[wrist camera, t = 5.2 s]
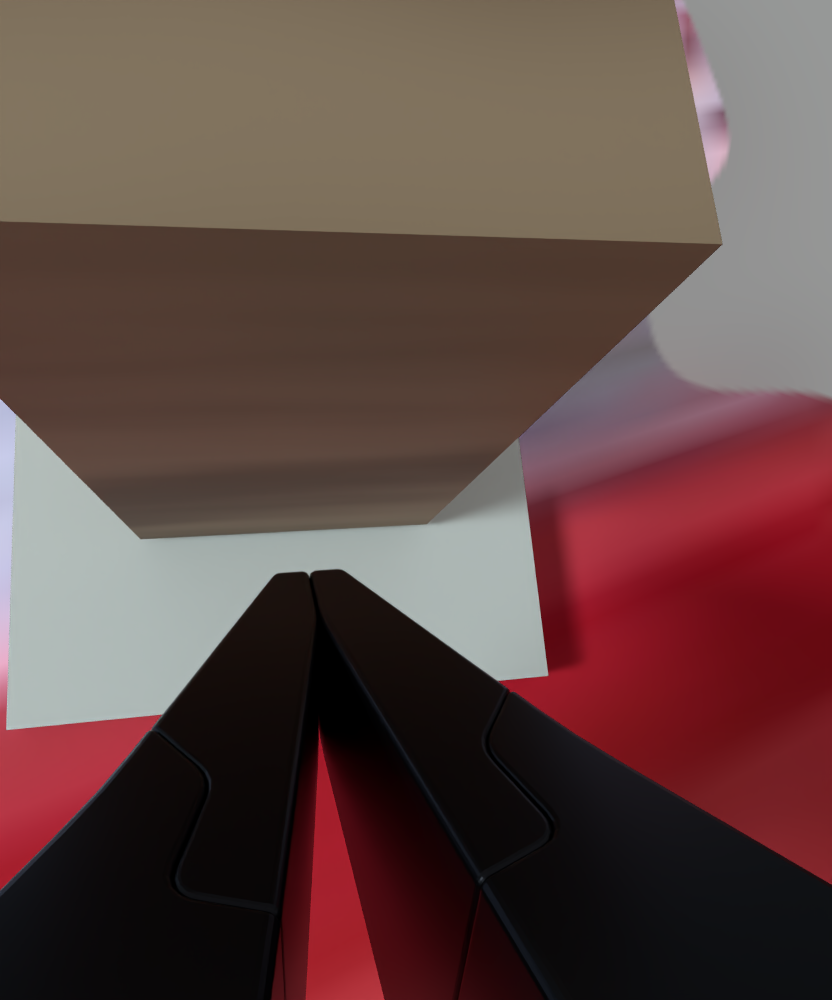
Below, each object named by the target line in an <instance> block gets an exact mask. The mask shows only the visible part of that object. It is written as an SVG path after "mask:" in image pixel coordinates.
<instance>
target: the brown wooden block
mask: <svg viewBox="0 0 832 1000" xmlns="http://www.w3.org/2000/svg"><path fill="white" fill-rule="evenodd" d="M721 245H722V239H721V234H720V229H719V224H718V218H717V213H716V208H715V204H714V199H713V193H712V188H711V183H710V178H709V173H708V168H707V163H706V158H705V153H704V148H703V143H702V138H701V133H700V128H699V123H698V118H697V113H696V108H695V103H694V98H693V93H692V88H691V83H690V78H689V73H688V68H687V63H686V58H685V53H684V48H683V43H682V38H681V33H680V27H679V22H678V17H677V12H676V7H675V2H674V0H0V399H1V400H2V401H3V402H4V403H5V404H6V405H7V406H8V407H9V408H10V409H11V410H12V411H13V412H14V413H15V414H16V415H17V416H18V417H19V418H20V419H21V420H22V421H23V422H24V423H25V424H26V425H27V426H28V427H29V428H30V429H31V430H32V431H33V432H34V433H35V434H36V435H37V436H38V437H39V438H40V439H41V440H42V441H43V442H44V443H45V444H46V445H47V446H48V447H49V448H50V449H51V450H52V451H53V452H54V453H55V454H56V455H57V456H58V457H59V458H60V459H61V460H62V461H63V462H64V463H65V464H66V465H67V466H68V467H69V468H70V469H71V470H72V471H73V472H74V473H75V474H76V475H77V476H78V477H79V478H80V479H81V480H82V481H83V482H84V483H85V484H86V485H87V486H88V487H89V488H90V489H91V490H92V491H93V492H94V493H95V494H96V495H97V496H98V497H99V498H100V499H101V500H102V501H103V502H104V503H105V504H106V505H107V506H108V507H109V508H110V509H111V510H112V511H113V512H114V513H115V514H116V515H117V516H118V517H119V518H120V519H121V520H122V521H123V522H124V523H125V524H126V525H127V526H128V527H129V528H130V529H131V530H132V531H133V532H134V533H135V534H136V535H137V536H138V537H139V538H140V539H157V538H176V537H195V536H214V535H233V534H252V533H271V532H290V531H309V530H328V529H347V528H366V527H385V526H404V525H423V524H428V523H429V522H430V521H431V520H432V519H433V518H434V517H435V516H436V515H437V514H438V513H439V512H440V511H441V510H442V509H444V508H445V507H446V506H447V505H448V504H449V503H450V502H451V501H452V500H453V499H454V498H455V497H456V496H457V495H458V494H459V493H460V492H461V491H463V490H464V489H465V488H466V487H467V486H468V485H469V484H470V483H471V482H472V481H473V480H474V479H475V478H476V477H477V476H478V475H479V474H480V473H482V472H483V471H484V470H485V469H486V468H487V467H488V466H489V465H490V464H491V463H492V462H493V461H494V460H495V459H496V458H497V457H498V456H499V455H501V454H502V453H503V452H504V451H505V450H506V449H507V448H508V447H509V446H510V445H511V444H512V443H513V442H514V441H515V440H516V439H517V438H518V437H520V436H521V435H522V434H523V433H524V432H525V431H526V430H527V429H528V428H529V427H530V426H531V425H532V424H533V423H534V422H535V421H536V420H537V419H539V418H540V417H541V416H542V415H543V414H544V413H545V412H546V411H547V410H548V409H549V408H550V407H551V406H552V405H553V404H554V403H555V402H556V401H558V400H559V399H560V398H561V397H562V396H563V395H564V394H565V393H566V392H567V391H568V390H569V389H570V388H571V387H572V386H573V385H574V384H575V383H577V382H578V381H579V380H580V379H581V378H582V377H583V376H584V375H585V374H586V373H587V372H588V371H589V370H590V369H591V368H592V367H593V366H594V365H596V364H597V363H598V362H599V361H600V360H601V359H602V358H603V357H604V356H605V355H606V354H607V353H608V352H609V351H610V350H611V349H612V348H613V347H615V346H616V345H617V344H618V343H619V342H620V341H621V340H622V339H623V338H624V337H625V336H626V335H627V334H628V333H629V332H630V331H631V330H632V329H634V328H635V327H636V326H637V325H638V324H639V323H640V322H641V321H642V320H643V319H644V318H645V317H646V316H647V315H648V314H649V313H650V312H651V311H653V310H654V309H655V307H657V306H658V305H659V304H660V303H661V302H662V301H663V300H664V299H665V298H666V297H667V296H668V295H669V294H670V293H671V292H673V290H675V289H676V288H677V287H678V286H679V285H680V284H681V283H682V282H683V281H684V280H685V279H686V278H687V277H688V276H689V275H691V274H692V273H693V272H694V271H695V270H696V269H697V268H698V267H699V266H700V265H701V264H702V263H703V262H704V261H705V260H706V259H707V258H708V257H710V256H711V255H712V254H713V253H714V252H715V251H716V250H717V249H718V248H719V247H720V246H721Z"/></svg>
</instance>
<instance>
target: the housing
mask: <svg viewBox="0 0 832 1000" xmlns="http://www.w3.org/2000/svg"><path fill="white" fill-rule="evenodd" d="M330 569H342V570H344V571H346V572H347V573H348V574H350V575H351V576H353V577H354V578H355V579H357V580H358V581H360V582H361V583H362V584H364V585H365V586H367V587H368V588H369V589H371V590H372V591H373V592H375V593H376V594H378V595H379V596H380V597H382V598H383V599H385V600H386V601H387V602H389V603H390V604H391V605H393V606H394V607H396V608H397V609H398V610H400V611H401V612H403V613H404V614H405V615H407V616H408V617H410V618H411V619H412V620H414V621H415V622H416V623H418V624H419V625H421V626H422V627H423V628H425V629H426V630H428V631H429V632H430V633H432V634H433V635H434V636H436V637H437V638H439V639H440V640H441V641H443V642H444V643H446V644H447V645H448V646H450V647H451V648H453V649H454V650H455V651H457V652H458V653H459V654H461V655H462V656H464V657H465V658H466V659H468V660H469V661H471V662H472V663H473V664H475V665H476V666H477V667H479V668H480V669H482V670H483V671H484V672H486V673H487V674H489V675H490V676H491V677H493V678H494V679H495V680H497V681H500V680H510V679H520V678H530V677H540V676H548V669H547V661H546V653H545V645H544V637H543V629H542V621H541V613H540V605H539V597H538V589H537V581H536V573H535V565H534V557H533V549H532V541H531V533H530V525H529V517H528V509H527V501H526V493H525V485H524V477H523V469H522V460H521V452H520V444H519V437H518V438H517V439H516V440H515V441H514V442H513V443H512V444H511V445H510V446H509V447H508V448H507V449H506V450H505V451H504V452H503V453H502V454H501V455H499V456H498V457H497V458H496V459H495V460H494V461H493V462H492V463H491V464H490V465H489V466H488V467H487V468H486V469H485V470H484V471H483V472H482V473H480V474H479V475H478V476H477V477H476V478H475V479H474V480H473V481H472V482H471V483H470V484H469V485H468V486H467V487H466V488H465V489H464V490H463V491H461V492H460V493H459V494H458V495H457V496H456V497H455V498H454V499H453V500H452V501H451V502H450V503H449V504H448V505H447V506H446V507H445V508H444V509H442V510H441V511H440V512H439V513H438V514H437V515H436V516H435V517H434V518H433V519H432V520H431V521H430V522H429V523H428V524H423V525H404V526H385V527H366V528H347V529H328V530H309V531H290V532H271V533H252V534H233V535H214V536H195V537H176V538H157V539H140V538H139V537H138V536H137V535H136V534H135V533H134V532H133V531H132V530H131V529H130V528H129V527H128V526H127V525H126V524H125V523H124V522H123V521H122V520H121V519H120V518H119V517H118V516H117V515H116V514H115V513H114V512H113V511H112V510H111V509H110V508H109V507H108V506H107V505H106V504H105V503H104V502H103V501H102V500H101V499H100V498H99V497H98V496H97V495H96V494H95V493H94V492H93V491H92V490H91V489H90V488H89V487H88V486H87V485H86V484H85V483H84V482H83V481H82V480H81V479H80V478H79V477H78V476H77V475H76V474H75V473H74V472H73V471H72V470H71V469H70V468H69V467H68V466H67V465H66V464H65V463H64V462H63V461H62V460H61V459H60V458H59V457H58V456H57V455H56V454H55V453H54V452H53V451H52V450H51V449H50V448H49V447H48V446H47V445H46V444H45V443H44V442H43V441H42V440H41V439H40V438H39V437H38V436H37V435H36V434H35V433H34V432H33V431H32V430H31V429H30V428H29V427H28V426H27V425H26V424H25V423H24V422H23V421H22V420H21V419H20V418H19V417H18V416H17V415H16V428H15V461H14V494H13V527H12V560H11V594H10V627H9V660H8V693H7V726H6V730H11V729H21V728H31V727H41V726H51V725H61V724H71V723H81V722H91V721H101V720H111V719H121V718H131V717H141V716H151V715H161V714H163V713H164V712H165V711H166V710H167V708H168V707H169V706H170V705H171V703H172V702H173V701H174V700H175V698H176V697H177V696H178V695H179V693H180V692H181V691H182V690H183V688H184V687H185V686H186V685H187V683H188V682H189V681H190V680H191V678H192V677H193V676H194V674H195V673H196V672H197V671H198V669H199V668H200V667H201V666H202V664H203V663H204V662H205V661H206V659H207V658H208V657H209V656H210V654H211V653H212V652H213V651H214V649H215V648H216V647H217V646H218V644H219V643H220V642H221V641H222V639H223V638H224V637H225V636H226V634H227V633H228V632H229V631H230V629H231V628H232V627H233V626H234V624H235V623H236V622H237V621H238V619H239V618H240V617H241V616H242V614H243V613H244V612H245V611H246V609H247V608H248V607H249V606H250V604H251V603H252V602H253V601H254V599H255V598H256V597H257V596H258V594H259V593H260V592H261V591H262V589H263V588H264V587H265V586H266V584H267V583H268V582H269V581H270V579H271V578H272V577H273V576H274V575H275V574H277V573H285V572H300V571H303V572H306V573H307V574H308V575H309V576H310V574H311V573H312V572H313V571H315V570H330Z"/></svg>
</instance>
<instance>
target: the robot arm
mask: <svg viewBox="0 0 832 1000" xmlns="http://www.w3.org/2000/svg"><path fill="white" fill-rule="evenodd" d="M319 732H320V739H321V744H322V748H323V753H324V757H325V761H326V766H327V770H328V774H329V778H330V782H331V786H332V790H333V794H334V798H335V802H336V806H337V810H338V814H339V818H340V822H341V826H342V830H343V834H344V838H345V842H346V846H347V850H348V854H349V858H350V862H351V866H352V870H353V874H354V878H355V882H356V886H357V890H358V894H359V898H360V902H361V907H362V911H363V915H364V919H365V923H366V927H367V931H368V935H369V939H370V943H371V947H372V951H373V955H374V959H375V963H376V967H377V971H378V975H379V979H380V983H381V987H382V991H383V995H384V999H385V1000H832V885H831V884H829V883H828V882H826V881H824V880H823V879H821V878H819V877H817V876H816V875H814V874H812V873H811V872H809V871H807V870H805V869H804V868H802V867H800V866H799V865H797V864H795V863H793V862H792V861H790V860H788V859H787V858H785V857H783V856H781V855H780V854H778V853H776V852H775V851H773V850H771V849H769V848H768V847H766V846H764V845H763V844H761V843H759V842H757V841H756V840H754V839H752V838H751V837H749V836H747V835H745V834H744V833H742V832H740V831H738V830H737V829H735V828H733V827H732V826H730V825H728V824H726V823H725V822H723V821H721V820H720V819H718V818H716V817H714V816H713V815H711V814H709V813H708V812H706V811H704V810H702V809H701V808H699V807H697V806H696V805H694V804H692V803H690V802H689V801H687V800H685V799H684V798H682V797H680V796H678V795H677V794H675V793H673V792H672V791H670V790H668V789H666V788H665V787H663V786H661V785H660V784H658V783H656V782H654V781H653V780H651V779H649V778H648V777H646V776H644V775H642V774H641V773H639V772H637V771H636V770H634V769H632V768H630V767H629V766H627V765H625V764H624V763H622V762H620V761H619V760H617V759H615V758H614V757H612V756H610V755H609V754H607V753H606V752H604V751H602V750H601V749H599V748H597V747H596V746H594V745H592V744H591V743H589V742H588V741H586V740H584V739H583V738H581V737H579V736H578V735H576V734H575V733H573V732H572V731H570V730H569V729H567V728H566V727H564V726H563V725H561V724H560V723H558V722H557V721H555V720H554V719H552V718H551V717H550V716H548V715H547V714H545V713H544V712H542V711H541V710H539V709H538V708H536V707H535V706H534V705H532V704H531V703H529V702H528V701H527V700H525V699H524V698H522V697H521V696H520V695H518V694H517V693H515V692H510V691H509V689H508V688H507V687H505V686H504V685H502V684H501V683H500V682H498V681H497V680H495V679H494V678H493V677H491V676H490V675H489V674H487V673H486V672H484V671H483V670H482V669H480V668H479V667H477V666H476V665H475V664H473V663H472V662H471V661H469V660H468V659H466V658H465V657H464V656H462V655H461V654H459V653H458V652H457V651H455V650H454V649H453V648H451V647H450V646H448V645H447V644H446V643H444V642H443V641H441V640H440V639H439V638H437V637H436V636H434V635H433V634H432V633H430V632H429V631H428V630H426V629H425V628H423V627H422V626H421V625H419V624H418V623H416V622H415V621H414V620H412V619H411V618H410V617H408V616H407V615H405V614H404V613H403V612H401V611H400V610H398V609H397V608H396V607H394V606H393V605H391V604H390V603H389V602H387V601H386V600H385V599H383V598H382V597H380V596H379V595H378V594H376V593H375V592H373V591H372V590H371V589H369V588H368V587H367V586H365V585H364V584H362V583H361V582H360V581H358V580H357V579H355V578H354V577H353V576H351V575H350V574H348V573H347V572H346V571H344V570H342V569H330V570H315V571H313V572H312V573H311V574H310V576H309V575H308V574H307V573H306V572H303V571H300V572H285V573H277V574H275V575H274V576H273V577H272V578H271V579H270V581H269V582H268V583H267V584H266V586H265V587H264V588H263V589H262V591H261V592H260V593H259V594H258V596H257V597H256V598H255V599H254V601H253V602H252V603H251V604H250V606H249V607H248V608H247V609H246V611H245V612H244V613H243V614H242V616H241V617H240V618H239V619H238V621H237V622H236V623H235V624H234V626H233V627H232V628H231V629H230V631H229V632H228V633H227V634H226V636H225V637H224V638H223V639H222V641H221V642H220V643H219V644H218V646H217V647H216V648H215V649H214V651H213V652H212V653H211V654H210V656H209V657H208V658H207V659H206V661H205V662H204V663H203V664H202V666H201V667H200V668H199V669H198V671H197V672H196V673H195V674H194V676H193V677H192V678H191V680H190V681H189V682H188V683H187V685H186V686H185V687H184V688H183V690H182V691H181V692H180V693H179V695H178V696H177V697H176V698H175V700H174V701H173V702H172V703H171V705H170V706H169V707H168V708H167V710H166V711H165V712H164V713H163V715H162V716H161V717H160V718H159V720H158V721H157V722H156V723H155V725H154V726H153V727H152V730H150V731H148V732H147V733H146V734H145V735H144V737H143V738H142V739H141V740H140V742H139V743H138V744H137V745H136V747H135V748H134V749H133V750H132V752H131V753H130V754H129V755H128V756H127V758H126V759H125V760H124V761H123V762H122V763H121V765H120V766H119V767H118V768H117V769H116V770H115V772H114V773H113V774H112V775H111V776H110V777H109V779H108V780H107V781H106V782H105V783H104V784H103V786H102V787H101V788H100V789H99V790H98V791H97V793H96V794H95V795H94V796H93V797H92V798H91V799H90V800H89V801H88V802H87V803H86V804H85V805H84V806H83V807H82V808H81V809H80V810H79V811H78V812H77V813H76V815H75V816H74V817H73V818H72V819H71V820H70V821H69V822H68V823H67V824H66V825H65V826H64V827H63V828H62V829H61V830H60V831H59V832H58V833H57V834H56V835H55V836H54V837H53V838H52V840H51V841H50V842H48V843H47V844H46V845H45V846H44V847H43V848H42V849H41V850H40V851H39V852H38V853H37V854H36V855H35V856H34V857H33V858H32V859H31V860H30V861H29V862H28V863H27V864H26V865H25V866H24V867H23V868H22V869H21V870H20V871H19V872H18V873H17V874H16V875H15V876H14V877H13V878H12V879H11V880H10V881H9V882H8V883H7V884H6V885H5V886H4V887H3V888H2V889H1V890H0V1000H305V999H306V980H307V961H308V942H309V923H310V904H311V885H312V866H313V847H314V828H315V809H316V790H317V771H318V745H319Z"/></svg>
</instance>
